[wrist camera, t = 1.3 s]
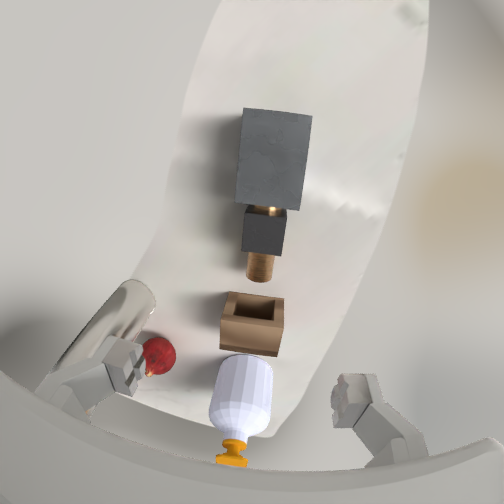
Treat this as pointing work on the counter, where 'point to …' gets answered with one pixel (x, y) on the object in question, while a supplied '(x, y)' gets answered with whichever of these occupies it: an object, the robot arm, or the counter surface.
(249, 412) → the soap bottle
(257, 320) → the socket
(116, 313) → the silver metal cylinder
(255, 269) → the hammer
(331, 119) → the counter surface
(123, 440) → the robot arm
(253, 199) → the matte grey rectangular block
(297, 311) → the counter surface
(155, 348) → the onion
